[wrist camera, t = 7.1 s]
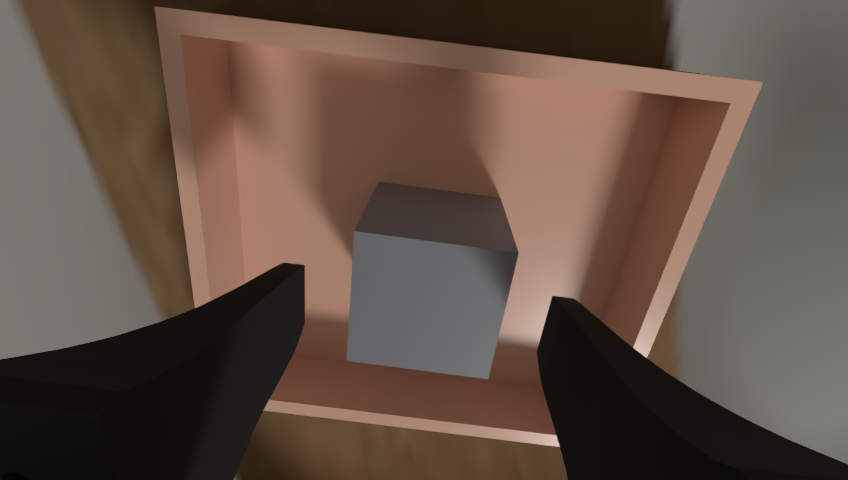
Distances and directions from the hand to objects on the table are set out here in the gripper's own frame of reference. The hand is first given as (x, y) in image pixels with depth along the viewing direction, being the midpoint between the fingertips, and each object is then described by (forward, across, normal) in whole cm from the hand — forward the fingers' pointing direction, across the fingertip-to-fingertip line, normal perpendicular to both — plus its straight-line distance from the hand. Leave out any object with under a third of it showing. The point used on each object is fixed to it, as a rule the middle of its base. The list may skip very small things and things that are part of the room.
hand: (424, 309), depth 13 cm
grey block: (+5, 0, 0) cm, 5 cm away
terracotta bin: (+5, 0, 0) cm, 5 cm away
